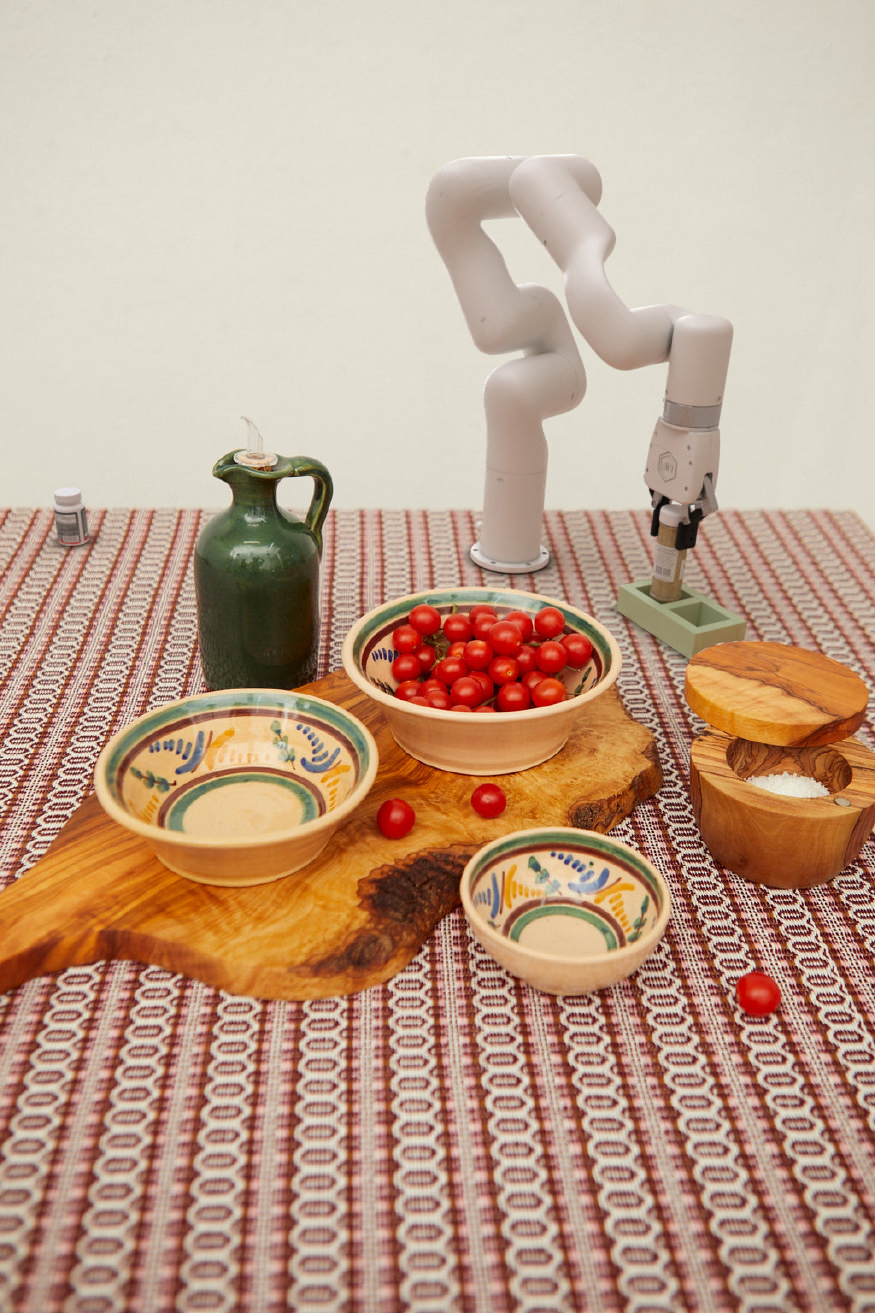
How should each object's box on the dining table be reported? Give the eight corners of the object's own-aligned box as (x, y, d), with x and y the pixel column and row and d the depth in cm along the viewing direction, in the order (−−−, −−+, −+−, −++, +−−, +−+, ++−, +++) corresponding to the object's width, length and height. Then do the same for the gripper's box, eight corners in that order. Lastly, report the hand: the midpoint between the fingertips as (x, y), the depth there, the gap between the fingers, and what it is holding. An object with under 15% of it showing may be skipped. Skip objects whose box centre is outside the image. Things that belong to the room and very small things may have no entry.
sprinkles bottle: (687, 599, 157) (701, 510, 150) (663, 606, 154) (677, 516, 148) (664, 587, 160) (677, 500, 154) (641, 594, 158) (653, 506, 151)
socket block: (691, 660, 147) (695, 634, 145) (616, 610, 160) (619, 585, 158) (742, 647, 151) (747, 621, 149) (665, 599, 164) (669, 574, 162)
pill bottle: (76, 533, 178) (70, 484, 174) (95, 540, 176) (89, 490, 172) (52, 541, 175) (45, 491, 171) (71, 549, 172) (64, 498, 168)
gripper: (629, 399, 149) (614, 524, 158) (712, 434, 136) (690, 568, 145) (672, 394, 152) (655, 517, 161) (757, 427, 140) (734, 559, 148)
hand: (672, 540), depth 153 cm, fingers closed on sprinkles bottle, 4 cm apart
